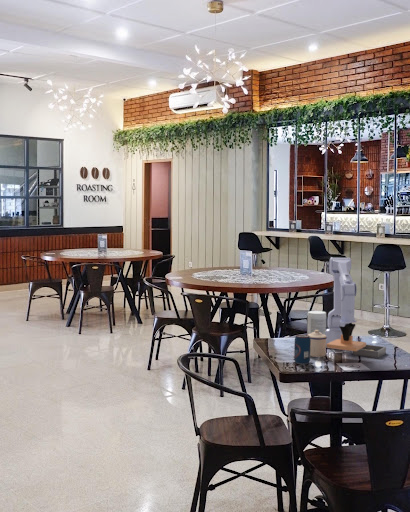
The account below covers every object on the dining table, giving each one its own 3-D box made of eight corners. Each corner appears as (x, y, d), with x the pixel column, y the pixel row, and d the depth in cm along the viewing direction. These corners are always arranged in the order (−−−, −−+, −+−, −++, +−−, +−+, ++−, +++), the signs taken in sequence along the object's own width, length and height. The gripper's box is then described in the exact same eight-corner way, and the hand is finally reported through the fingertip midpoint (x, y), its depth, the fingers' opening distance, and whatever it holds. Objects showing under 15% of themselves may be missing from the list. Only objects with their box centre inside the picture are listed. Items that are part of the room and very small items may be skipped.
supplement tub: (329, 341, 326) (330, 312, 325) (316, 343, 321) (316, 314, 320) (316, 338, 334) (317, 310, 333) (303, 339, 329) (303, 311, 328)
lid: (326, 347, 284) (326, 336, 284) (337, 342, 296) (337, 331, 296) (356, 351, 277) (356, 339, 277) (366, 346, 289) (366, 334, 288)
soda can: (291, 361, 282) (291, 334, 281) (305, 360, 285) (305, 333, 284) (298, 365, 276) (299, 337, 275) (313, 364, 278) (313, 336, 277)
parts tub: (352, 354, 297) (352, 348, 297) (360, 350, 307) (361, 343, 307) (378, 358, 290) (378, 351, 290) (385, 353, 301) (386, 347, 300)
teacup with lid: (326, 353, 298) (327, 328, 298) (325, 358, 290) (326, 332, 289) (300, 351, 301) (301, 327, 301) (298, 356, 293) (299, 330, 292)
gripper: (351, 313, 277) (350, 344, 278) (361, 308, 289) (360, 338, 290) (335, 311, 281) (334, 342, 282) (346, 307, 293) (346, 336, 294)
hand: (346, 340), depth 286 cm, fingers closed on lid
